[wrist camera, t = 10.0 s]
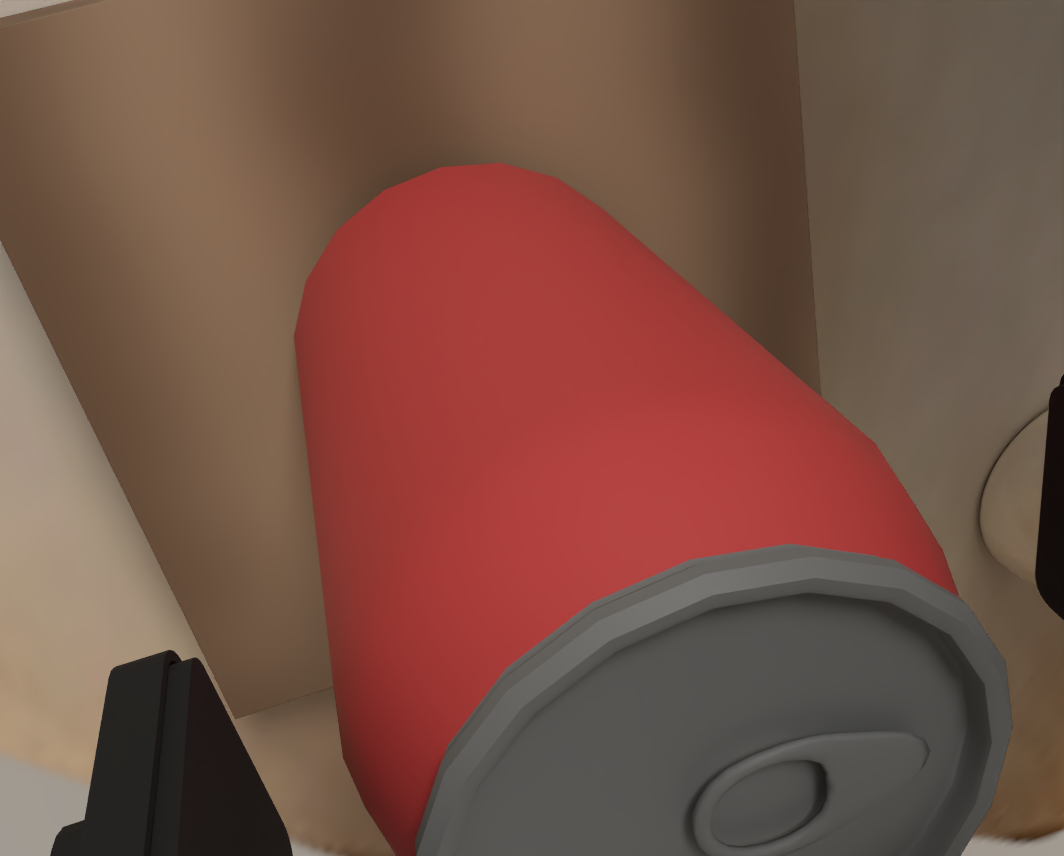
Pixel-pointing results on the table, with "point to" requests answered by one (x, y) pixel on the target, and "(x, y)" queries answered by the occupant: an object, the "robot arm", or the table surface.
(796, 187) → the walnut base
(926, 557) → the beer can
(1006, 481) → the beer glass
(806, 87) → the table surface
